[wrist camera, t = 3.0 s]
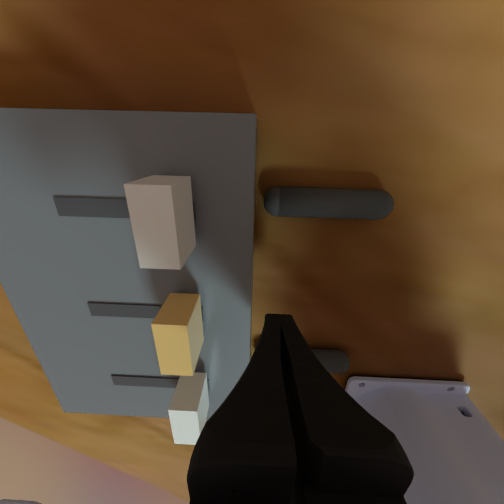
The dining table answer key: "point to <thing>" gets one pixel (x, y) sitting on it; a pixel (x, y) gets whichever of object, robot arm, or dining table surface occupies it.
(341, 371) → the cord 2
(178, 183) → the paddle
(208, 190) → the grey slider panel
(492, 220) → the dining table surface
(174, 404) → the paddle
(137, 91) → the dining table surface
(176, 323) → the paddle middle
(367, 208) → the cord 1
